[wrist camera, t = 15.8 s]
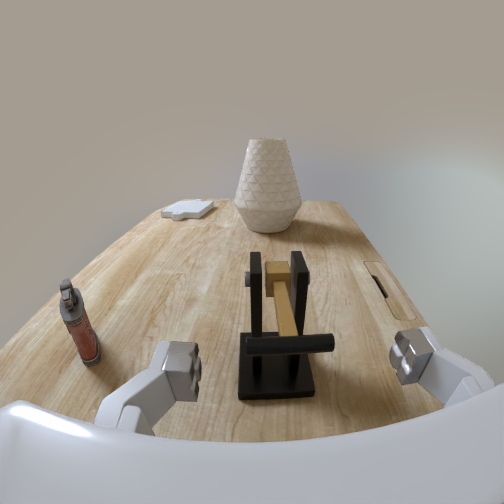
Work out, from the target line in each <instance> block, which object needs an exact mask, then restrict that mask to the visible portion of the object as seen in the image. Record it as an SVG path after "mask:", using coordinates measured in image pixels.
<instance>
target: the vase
mask: <svg viewBox="0 0 504 504" xmlns="http://www.w3.org/2000/svg"><path fill="white" fill-rule="evenodd" d="M301 204H302V201H301V197H300V193H299V190H298V186H297V181H296V177H295V174H294V170H293V166H292V162H291V159H290V155H289V151H288V148H287V144H286V140H285V139H250V141H249V145H248V149H247V152H246V156H245V160H244V164H243V168H242V172H241V176H240V180H239V184H238V188H237V192H236V196H235V200H234V205H235V207H236V209H237V210H238V212H239V214H240V215H241V217H242V219H243V220H244V222H245V224H246V225H247V227H248V228H249V229H250V230H252V231H255V232H260V233H277V232H281V231H284V230H286V229H287V228H288V227H289V225H290V224H291V222H292V220H293V219H294V217H295V215H296V214H297V212H298V210H299V208H300V207H301Z"/></svg>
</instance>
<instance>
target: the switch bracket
mask: <svg viewBox="0 0 504 504" xmlns="http://www.w3.org/2000/svg"><path fill="white" fill-rule="evenodd" d="M290 271H291V292H290V296H289V299H290V303H291V307H292V311H293V315H294V319H295V324H296V328H297V332H298V335H303V329H304V320H305V311H306V301H307V291H308V285H309V284H310V272H309V270H308V268H307V266H306V263H305V260H304V258H303V255H302V252H301V251H291V267H290ZM245 287H250V293H251V333H240V356H239V381H238V399H239V400H261V399H286V398H301V397H313V396H314V393H315V386H314V382H313V377H312V372H311V368H310V363H309V358H308V354H291V355H265V356H247V355H246V337H272V336H279V332H262V267H261V253H260V252H250V272H245Z"/></svg>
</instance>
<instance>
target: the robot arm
mask: <svg viewBox="0 0 504 504" xmlns="http://www.w3.org/2000/svg"><path fill="white" fill-rule="evenodd" d="M395 341H396V343H395V344H394V345H393V346H392V347H391V350H390V362H391V365H392V367H393V368H395V369H396V370H397V373H396V375H397V377H398V379H399V381H400V383H401V385H406V384H411V383H416V382H418V384H419V385H421V386H422V387H423V388H424V389H426V390H427V391H428V392H429V393H431V394H432V395H433V396H434V397H435V398H437V399H438V400H439V401H440V402H442V403H443V404H444V405H445V406H444V407H443V408H442V409H441V410H438V411H435V412H432V413H429V414H426V415H423V416H419V417H416V418H413V419H409V420H406V421H402V422H399V423H395V424H391V425H387V426H383V427H379V428H374V429H370V430H365V431H360V432H355V433H349V434H343V435H337V436H330V437H323V438H315V439H306V440H295V441H281V442H256V443H230V442H206V441H192V440H181V439H172V438H164V437H157V436H155V434H154V432H153V431H152V429H151V428H152V427H153V426H154V425H155V424H156V423H157V422H158V421H159V420H160V419H161V417H162V416H163V415H164V414H165V413H166V412H167V411H168V410H169V409H170V408H171V407H172V406H173V405H174V404H175V403H176V401H187V402H197V399H198V393H199V386H198V382H199V381H200V380H201V369H202V367H201V359H200V357H199V356H198V352H199V349H198V344H197V343H192V342H176V341H172V342H171V341H159V342H158V343H157V346H156V349H155V351H154V354H153V357H152V360H151V362H150V365H149V368H148V369H144V370H143V371H141V372H140V373H139V374H137V375H136V376H135V377H133V378H132V379H131V380H129V381H128V382H126V383H125V384H124V385H122V386H121V387H120V388H118V389H117V390H115V391H114V392H113V393H111V394H110V395H108V396H107V397H106V398H104V399H103V400H102V403H101V405H100V408H99V410H98V412H97V415H96V417H95V420H94V422H93V423H89V422H85V421H82V420H78V419H75V418H72V417H68V416H65V415H62V414H59V413H56V412H53V411H50V410H48V409H45V408H42V407H40V406H37V405H35V404H32V403H30V402H27V401H24V400H17V401H14V402H12V403H10V404H8V405H6V406H4V407H2V408H0V504H504V382H503V383H501V384H499V385H497V386H496V385H495V383H494V382H493V381H492V379H491V377H490V376H489V374H488V373H487V372H486V370H485V369H484V368H482V367H480V366H478V365H477V364H475V363H473V362H471V361H469V360H467V359H465V358H464V357H462V356H460V355H458V354H456V353H454V352H452V351H451V350H449V349H444V348H443V346H442V345H441V343H440V342H439V341H438V339H437V338H436V336H435V335H434V333H433V332H432V331H431V329H430V328H429V327H427V326H426V327H421V328H417V329H410V330H404V331H398V333H397V334H396V336H395Z"/></svg>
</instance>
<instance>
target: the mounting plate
mask: <svg viewBox="0 0 504 504" xmlns="http://www.w3.org/2000/svg"><path fill="white" fill-rule="evenodd" d="M213 207H214V202H213V201H202V200H201V199H195V200H193V201H178V202H176V203H175V204H173V205H171V206H169V207H168V208H166V209H164V210H163V211H161V216H162V217H167V218H173V220H175V221H179V220H182V219H184V218H195V219H199V218H200V217H202V216H203V215H204V214H205V213H207V212H208V211H209V210H210V209H212V208H213Z"/></svg>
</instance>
